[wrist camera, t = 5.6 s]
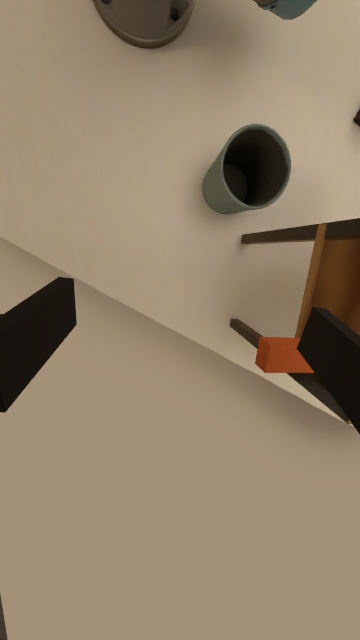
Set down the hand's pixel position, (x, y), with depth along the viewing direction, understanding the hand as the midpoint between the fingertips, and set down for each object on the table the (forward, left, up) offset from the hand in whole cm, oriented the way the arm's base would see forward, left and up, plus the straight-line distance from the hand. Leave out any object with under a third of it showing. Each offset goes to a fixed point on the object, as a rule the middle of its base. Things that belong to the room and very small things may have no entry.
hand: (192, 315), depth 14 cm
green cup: (+12, +15, -35) cm, 40 cm away
